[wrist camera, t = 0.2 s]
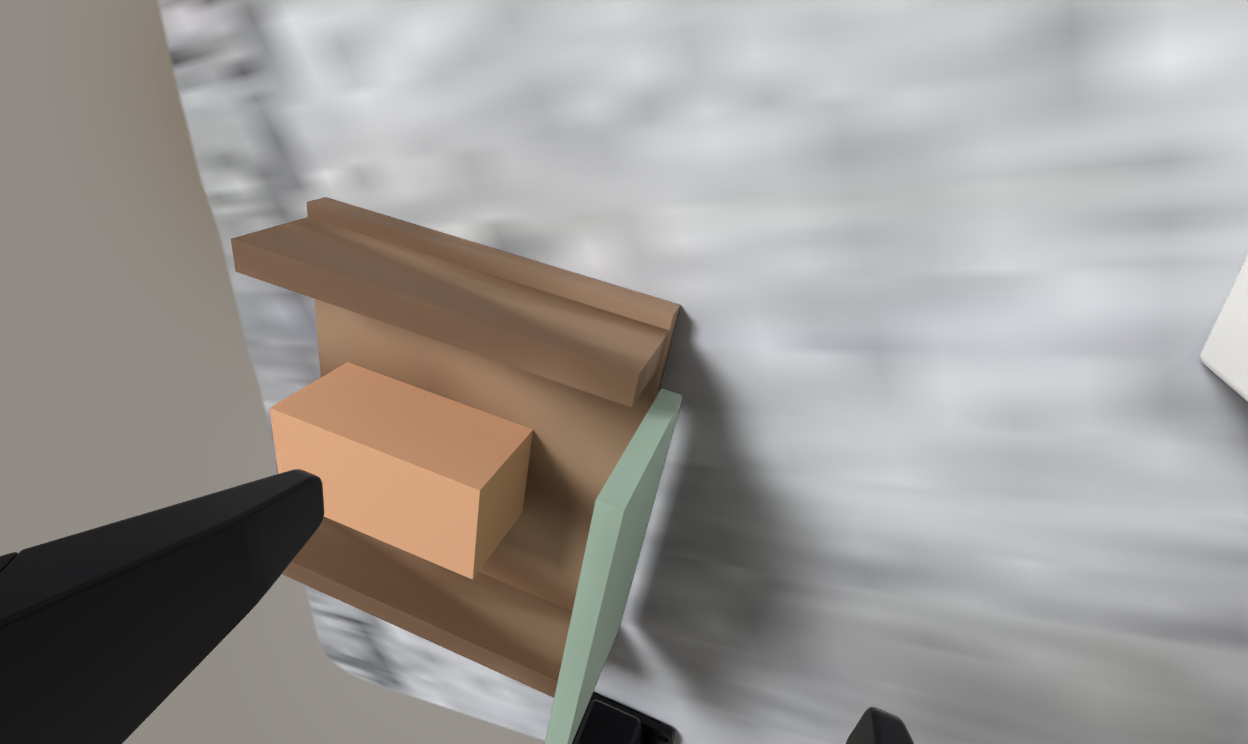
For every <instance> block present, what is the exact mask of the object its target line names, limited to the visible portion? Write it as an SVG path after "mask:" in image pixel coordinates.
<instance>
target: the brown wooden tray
mask: <svg viewBox="0 0 1248 744" xmlns="http://www.w3.org/2000/svg"><path fill="white" fill-rule="evenodd" d="M307 212H308V217H307V218H303V219H300V220H296V221H292V222H289V223H285V224H282V225H278V226H275V227H271V228H268V229H264V230H261V231H257V232H254V233H250V234H246V235H243V236H239V237H236V238H232V239H231V243H232V250H233V256H234V263H235V270H236V272H239V273H242V274H245V275H248V276H251V277H253V278H256V279H259V280H262V281H265V282H268V283H271V284H274V285H277V286H280V287H283V288H285V289H288V290H291V291H294V292H297V293H300V294H303V295H306V296H309V297H312V298H315V310H316V322H317V335H318V347H319V359H320V372H321V377H323V376H325V375H326V374H328V373H330V372H332V371H333V370H335V369H337V368H338V367H340V366H342V365H343V364H345V363H347V362H349V363H351V364H354V365H357V366H360V367H362V368H365V369H368V370H371V371H373V372H376V373H379V374H382V375H384V376H387V377H390V378H393V379H395V380H398V381H401V382H404V383H406V384H409V385H412V386H415V387H417V388H420V389H423V390H426V391H428V392H431V393H434V394H437V395H439V396H442V397H445V398H448V399H450V400H453V401H456V402H459V403H461V404H464V405H467V406H470V407H472V408H475V409H478V410H481V411H483V412H486V413H489V414H492V415H495V416H497V417H500V418H503V419H506V420H508V421H511V422H514V423H517V424H519V425H522V426H525V427H528V428H530V429H533V434H532V442H531V450H530V457H529V465H528V473H527V480H526V488H525V496H524V503H523V511H522V513H521V515H520V516H519V517H518V519H517V520H516V521H515V523H514V524H513V526H512V527H511V528H510V530H509V531H508V532H507V534H506V535H505V536H504V538H503V539H502V540H501V542H500V543H499V545H498V546H497V547H496V549H495V550H494V551H493V553H492V554H491V555H490V557H489V558H488V559H487V561H486V562H485V564H484V565H483V566H482V568H481V569H480V570H479V572H478V573H477V574H476V576H475V577H474V578H473V580H472V579H470V578H468V577H465V576H463V575H461V574H458V573H456V572H454V571H451V570H449V569H447V568H444V567H442V566H439V565H437V564H435V563H432V562H430V561H428V560H425V559H423V558H421V557H418V556H416V555H414V554H411V553H409V552H407V551H404V550H402V549H400V548H397V547H395V546H392V545H390V544H388V543H385V542H383V541H381V540H378V539H376V538H374V537H371V536H369V535H367V534H364V533H362V532H360V531H357V530H355V529H352V528H350V527H348V526H345V525H343V524H341V523H338V522H336V521H334V520H331V519H329V518H327V517H324V518H323V520H322V523H321V525H320V526H319V528H318V529H317V530H316V532H315V533H314V534H313V535H312V537H311V538H310V539H309V540H308V542H307V543H306V544H305V545H304V547H303V548H302V549H301V550H300V552H299V553H298V554H297V555H296V557H295V558H294V559H293V560H292V562H291V563H290V564H289V565H288V567H287V568H286V569H285V570H284V572H283V573H282V574H283V575H286V576H288V577H290V578H292V579H294V580H296V581H299V582H301V583H303V584H305V585H307V586H310V587H312V588H314V589H316V590H318V591H321V592H323V593H325V594H327V595H329V596H332V597H334V598H336V599H338V600H340V601H343V602H345V603H347V604H349V605H351V606H354V607H356V608H358V609H360V610H362V611H365V612H367V613H369V614H371V615H373V616H376V617H378V618H380V619H382V620H384V621H387V622H389V623H391V624H393V625H395V626H398V627H400V628H402V629H404V630H406V631H409V632H411V633H413V634H415V635H417V636H420V637H422V638H424V639H426V640H428V641H431V642H433V643H435V644H437V645H439V646H442V647H444V648H446V649H448V650H450V651H453V652H455V653H457V654H459V655H461V656H464V657H466V658H468V659H470V660H472V661H475V662H477V663H479V664H481V665H483V666H486V667H488V668H490V669H492V670H494V671H497V672H499V673H501V674H503V675H505V676H508V677H510V678H512V679H514V680H516V681H519V682H521V683H523V684H525V685H527V686H530V687H532V688H534V689H536V690H538V691H541V692H543V693H545V694H547V695H549V696H552V697H555V692H556V688H557V683H558V678H559V673H560V669H561V664H562V659H563V654H564V649H565V645H566V640H567V635H568V630H569V626H570V621H571V616H572V611H573V606H574V602H575V597H576V592H577V587H578V583H579V578H580V573H581V568H582V563H583V559H584V554H585V549H586V544H587V540H588V535H589V530H590V525H591V520H592V516H593V511H594V506H595V501H596V499H597V497H598V495H599V494H600V492H601V490H602V488H603V487H604V485H605V483H606V482H607V480H608V478H609V477H610V475H611V473H612V471H613V470H614V468H615V466H616V465H617V463H618V461H619V460H620V458H621V456H622V455H623V453H624V451H625V449H626V448H627V446H628V444H629V443H630V441H631V439H632V438H633V436H634V434H635V432H636V431H637V429H638V427H639V426H640V424H641V422H642V421H643V419H644V417H645V416H646V414H647V412H648V410H649V409H650V407H651V405H652V404H653V402H654V400H655V399H656V397H657V395H658V393H659V389H660V385H661V381H662V377H663V373H664V369H665V364H666V360H667V356H668V352H669V348H670V344H671V340H672V336H673V332H674V328H675V324H676V320H677V316H678V312H679V308H680V305H679V304H675V303H672V302H669V301H666V300H662V299H659V298H656V297H652V296H649V295H646V294H643V293H639V292H636V291H633V290H629V289H626V288H623V287H619V286H616V285H613V284H610V283H606V282H603V281H600V280H596V279H593V278H590V277H587V276H583V275H580V274H577V273H573V272H570V271H567V270H564V269H560V268H557V267H554V266H550V265H547V264H544V263H540V262H537V261H534V260H531V259H527V258H524V257H521V256H517V255H514V254H511V253H508V252H504V251H501V250H498V249H494V248H491V247H488V246H485V245H481V244H478V243H475V242H471V241H468V240H465V239H461V238H458V237H455V236H452V235H448V234H445V233H442V232H438V231H435V230H432V229H429V228H425V227H422V226H419V225H415V224H412V223H409V222H406V221H402V220H399V219H396V218H392V217H389V216H386V215H383V214H379V213H376V212H373V211H369V210H366V209H363V208H359V207H356V206H353V205H350V204H346V203H343V202H340V201H336V200H333V199H330V198H327V197H324V198H321V199H317V200H313V201H309V202H307Z"/></svg>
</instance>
